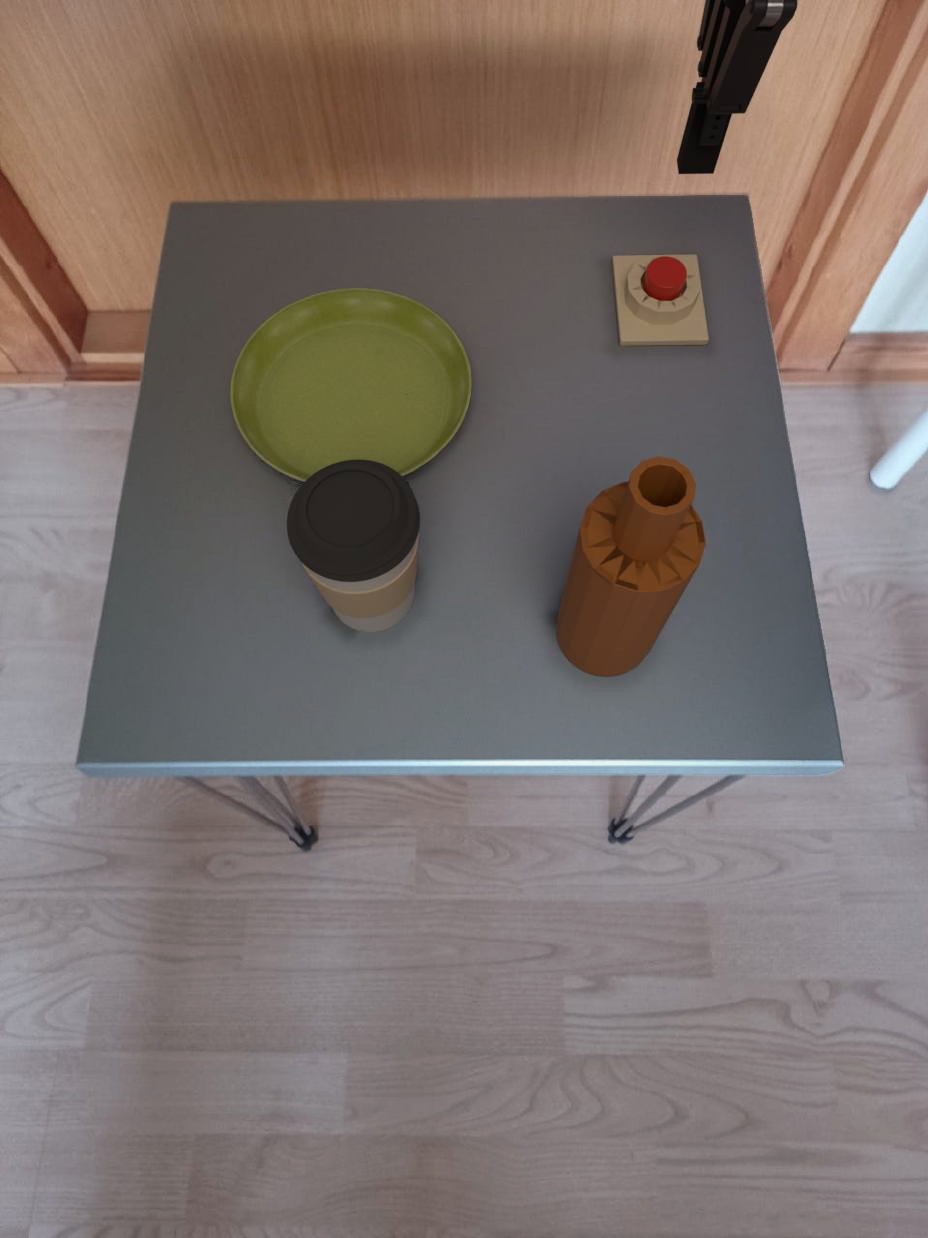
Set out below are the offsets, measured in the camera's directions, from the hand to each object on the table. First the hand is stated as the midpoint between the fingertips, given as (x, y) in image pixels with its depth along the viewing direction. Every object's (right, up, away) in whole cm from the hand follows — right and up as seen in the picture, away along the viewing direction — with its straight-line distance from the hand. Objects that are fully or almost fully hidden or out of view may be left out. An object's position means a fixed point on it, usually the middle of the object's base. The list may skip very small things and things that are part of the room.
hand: (695, 166), depth 67 cm
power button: (0, -5, +12) cm, 13 cm away
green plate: (-28, -16, +10) cm, 33 cm away
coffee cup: (-25, -33, +3) cm, 42 cm away
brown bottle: (-7, -36, +2) cm, 37 cm away
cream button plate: (0, -5, +14) cm, 15 cm away
